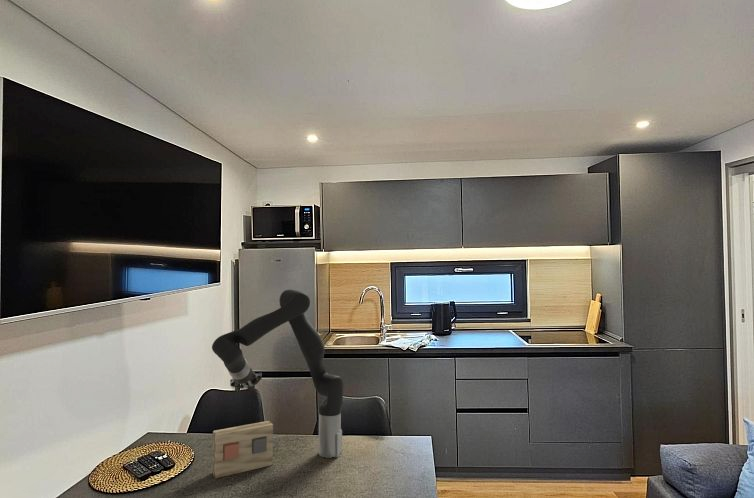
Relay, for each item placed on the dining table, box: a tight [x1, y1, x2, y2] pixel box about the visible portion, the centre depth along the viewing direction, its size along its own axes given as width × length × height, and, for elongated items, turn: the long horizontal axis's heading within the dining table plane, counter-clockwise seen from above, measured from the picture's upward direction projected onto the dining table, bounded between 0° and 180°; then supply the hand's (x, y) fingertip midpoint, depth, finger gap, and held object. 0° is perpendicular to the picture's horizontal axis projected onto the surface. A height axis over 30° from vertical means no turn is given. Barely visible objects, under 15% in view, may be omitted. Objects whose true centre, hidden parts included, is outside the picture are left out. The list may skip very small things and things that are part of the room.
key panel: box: [212, 420, 274, 479], centre depth 181 cm, size 5×22×16 cm, turn 122°
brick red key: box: [223, 442, 239, 460], centre depth 176 cm, size 3×5×5 cm, turn 122°
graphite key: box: [252, 436, 267, 454], centre depth 182 cm, size 3×5×5 cm, turn 122°
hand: (251, 387), depth 188 cm, fingers closed
